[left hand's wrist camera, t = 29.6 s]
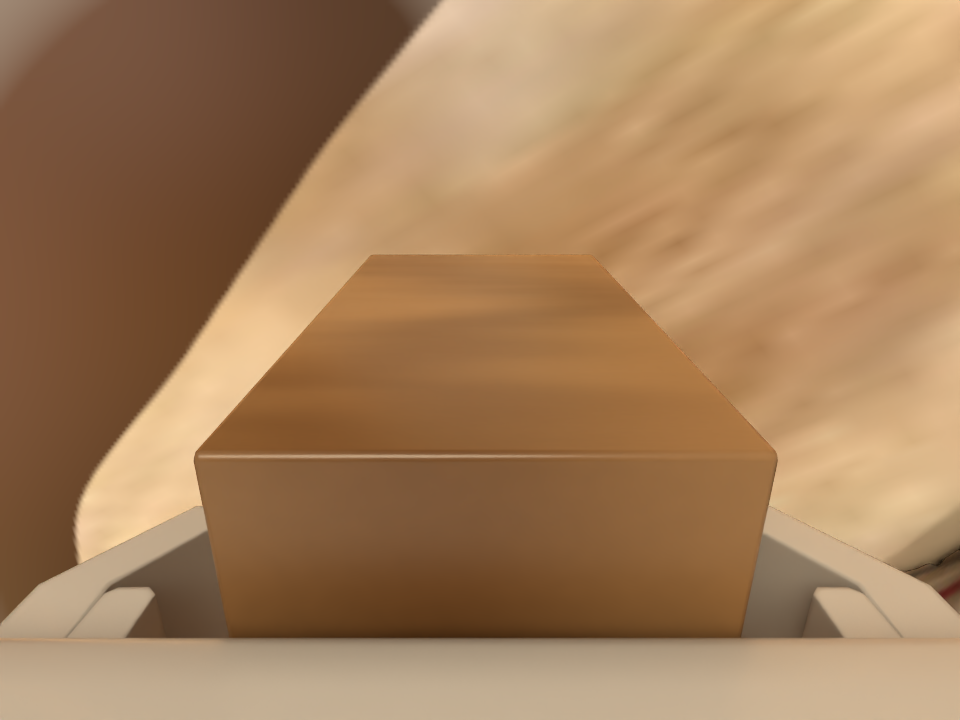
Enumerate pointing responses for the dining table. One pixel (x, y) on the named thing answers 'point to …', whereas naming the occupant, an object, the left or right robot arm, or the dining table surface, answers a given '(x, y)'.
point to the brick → (484, 466)
